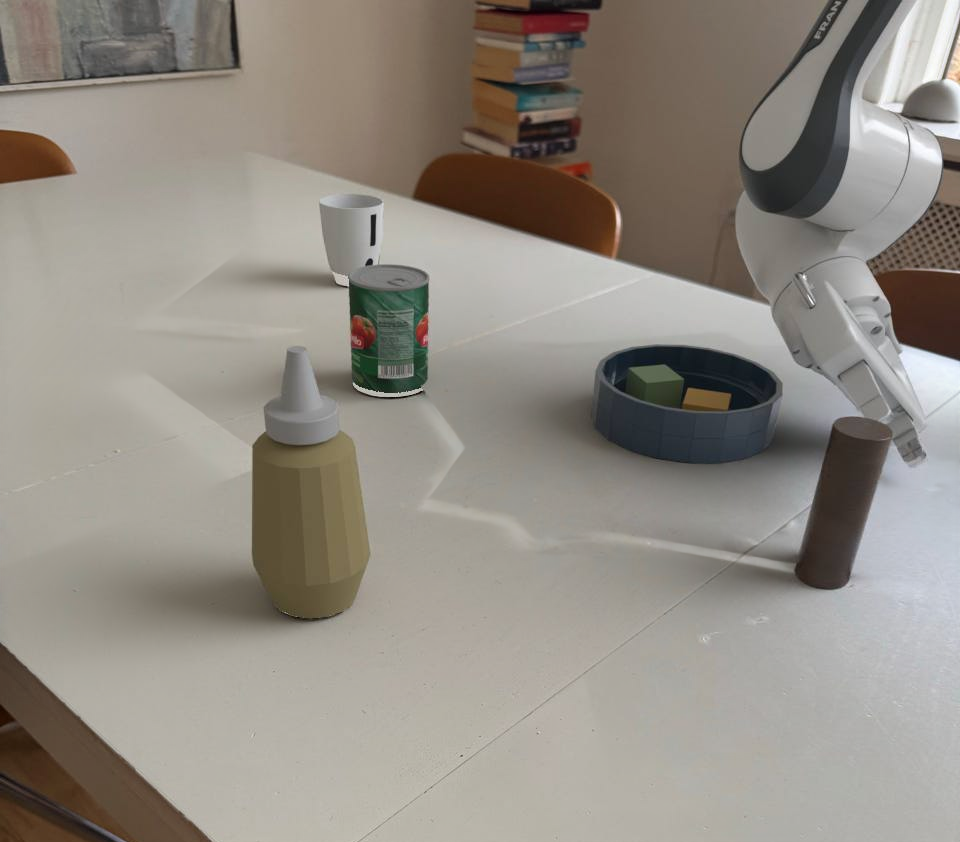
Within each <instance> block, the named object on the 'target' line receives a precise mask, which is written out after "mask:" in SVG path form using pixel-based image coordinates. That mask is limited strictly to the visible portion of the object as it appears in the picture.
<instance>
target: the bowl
mask: <svg viewBox="0 0 960 842" xmlns="http://www.w3.org/2000/svg"><path fill="white" fill-rule="evenodd" d="M654 365H666V366H668V367H669V368H670V369H672V370H673V371H674V372H675V373H677V374H678V375H679V376H681V377H682V378H683V379H684V384H683V391H682V397H681V403H680V409H677V408H670V407H664V406H661V405H657V404H653V403H649V402H646V401H642V400H639V399H637V398H634V397H632V396H630V395H628V394H625V390H626V382H627V374H628V368H632V367H643V366H654ZM594 374H595V375H594V383H593V390H592V391H593V392H592V399H591V410H590V418H591V422H592V424H593V426H594V429H595V430H596V431H598V432H599V433H600V434H601V435H602V436H603V437H604V438H605V439H607V440H608V441H609V442H612V443H613V444H616V445H618V446H620V447H622V448H624V449H626V450H628V451H631V452H633V453H637V454H640V455H645V456H647V457H651V458H654V459H660V460H666V461H673V462H681V463H687V464H721V463H727V462H734V461H740V460H745V459H748V458H750V457H752V456H754V455H757V454H760V453H762V452H763V451H764V450H765V449H766V448H767V447H768V446H769V445H770V444H771V443H772V442H773V439H774V436H775V432H776V431H775V430H776V426H777V421H778V417H779V411H780V408H781V404H782V400H783V395H784V383H783V382H782V380H781V379H780V378H779V376H777V374H776V373H775V372H774V371H772V370H771V369H769V368H767V367H766V366H765V365H762V364H761V363H760V362H757V361H754V360H752V359H749V358H746V357H744V356H741V355H739V354H736V353H732V352H727V351H723V350H719V349H716V348H710V347H704V346H696V345H687V344H661V343H659V344H647V345H638V346H637V345H636V346H630V347H627V348H623V349H620V350H617V351H616V350H615V351H612V352H611V353H609V354H608V355H606V356H604V357H603V358H602V359H599V362H598V364H597V366H596V369H595V373H594ZM688 388H694V389H701V390H708V391H715V392H722V393H728V394H731V399H730V404H729V409H728V411H692V410H685V409H682V406H683V402H684V399H685V396H686V393H687V389H688Z"/></svg>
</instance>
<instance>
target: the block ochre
mask: <svg viewBox="0 0 960 842" xmlns="http://www.w3.org/2000/svg"><path fill="white" fill-rule="evenodd" d="M730 399H731V394H728V393H722V392H715V391H708V390H701V389H694V388H688V389H687V393H686V396H685V399H684V402H683V406H682V409H685V410H692V411H728V409H729V404H730Z"/></svg>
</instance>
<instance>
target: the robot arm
mask: <svg viewBox="0 0 960 842" xmlns="http://www.w3.org/2000/svg"><path fill="white" fill-rule="evenodd" d="M917 2H918V0H827V2H826V4H825V5H824V7H823V9H822V10H821V12H820V14H819V15H818V17H817V19H816V20H815V21H814V24H813V25H812V27H811V29H810V30H809V32H808V34H807V35H806V36H805V38H804V40H803V42H802V44H801V46H800V47H799V49H798V50H797V51H796V53H795V55H794V56H793V58H792V59H791V61H790V62H789V64H788V65H787V67H786V68H785V69H784V71H783V72H782V73H781V75H780V76H779V77H778V78H777V80H776V81H774V83H773V85H772V86H771V87H770V88H769V89H768V91H767V92H766V93H765V94H764V95H763V97H762V98H761V99H760V101H758V103H757V105H756V106H755V108H754V109H753V110H752V112H751V114H750V115H749V118H748V119H747V121H746V123H745V126H744V128H743V130H742V133H741V137H740V142H739V149H738V164H739V173H740V177H741V181H742V184H743V187H744V190H743V191H742V193H741V195H740V196H739V199H738V202H737V204H736V208H735V215H734V229H735V236H736V242H737V244H738V245H737V246H738V248H739V252H740V254H741V257H742V260H743V261H744V264H745V266H746V268H747V270H748V272H749V274H750V277H751V279H752V281H753V283H754V285H755V287H756V289H757V290H758V292H759V293H760V295H762V296H763V297H764V298H765V299H767V301H768V302H769V305H770V312H771V317H772V319H773V322H774V324H775V326H776V328H777V330H778V332H779V334H780V336H781V338H782V340H783V342H784V344H785V345H786V347H787V349H788V352H789V353H790V355H791V358H792V360H794V362H795V363H796V364H797V365H798V366H799V367H802V368H805V369H810V370H811V371H813V372H815V373H817V374H819V375H820V376H823V377H824V378H826V379H827V380H828V381H830V382H831V383H832V384H833V385H834V386H835V387H837V388H838V390H839V391H840V392H841V393H842V395H844V396H845V397H846V398H847V399H848V401H850V403H851V404H852V405H853V406H854V407H855V409H857V410H858V411H859V413H860V414H861V415H862V416H863V417H864V418H869V419H873V420H876V421H879V422H881V423H883V424H885V425H887V426H888V427H890V428H891V430H892V431H893V436H892V440H891V443H890V447H896V449H897V452H898V454H899V455H900V457H901V459H902V461H903V462H904V463H905V464H906V465H907V467H909V468H910V469H914V468H917V467H918V466H920V465H922V464H924V463H925V462H927V460H928V459H929V455H928V452H927V450H926V449H925V447H924V445H923V443H922V439H921V436H920V434H919V433H922V432H923V431H924V430H925V429H926V428H927V420H926V416H925V413H924V410H923V407H922V405H921V402H920V401H919V398H918V395H917V392H916V391H915V389H914V386H913V383H912V382H911V378H910V377H909V375H908V372H907V370H906V368H905V365H904V364H903V362H902V359H901V357H900V355H901V354H902V353H903V351H904V350H903V346H902V345H901V342H900V340H899V338H898V337H897V335H896V332H895V330H894V325H893V320H892V314H891V312H892V308H891V304H890V302H889V300H888V298H887V297H886V295H885V294H884V292H883V290H882V289H881V287H880V285H879V283H878V282H877V280H876V278H875V276H874V275H873V273H872V271H871V270H870V267H869V266H868V264H867V263H869V262H871V261H872V260H874V259H876V258H877V257H879V256H880V255H881V254H883V253H884V252H885V251H887V250H888V249H889V248H890V247H892V246H893V245H894V244H895V243H897V241H899V240H900V239H901V238H902V237H903V236H905V235H906V234H907V233H908V232H909V231H910V230H911V229H912V228H914V226H916V225H917V224H918V223H919V222H920V221H921V220H922V219H923V218H924V217H925V215H926V214H927V213H928V211H929V210H930V208H931V207H932V205H933V204H934V202H935V200H936V198H937V196H938V193H939V191H940V188H941V185H942V180H943V173H944V154H943V149H942V145H941V142H940V140H939V138H938V137H937V136H936V134H935V133H934V132H933V131H932V130H930V129H929V128H927V127H924V126H922V125H921V124H918V123H917V122H915V121H912V120H911V119H909V118H906V117H905V116H903V115H900V114H898V113H897V112H894V111H892V110H889V109H885V108H883V107H881V106H879V105H876V104H874V103H872V102H870V101H868V100H866V99H864V98H863V93H864V87H865V84H866V83H867V81H868V78H869V77H870V75H871V74H872V72H873V70H874V69H875V68H876V65H877V64H878V63H879V61H880V59H881V58H882V56H883V55H884V53H885V52H886V50H887V49H888V48H889V45H890V44H891V42H892V41H893V40H894V37H895V36H896V34H897V33H898V31H899V30H900V28H901V26H902V25H903V23H904V21H905V20H906V19H907V17H908V15H909V14H910V12H911V10H912V9H913V8H914V6H915V4H916V3H917Z"/></svg>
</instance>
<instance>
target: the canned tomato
mask: <svg viewBox="0 0 960 842" xmlns="http://www.w3.org/2000/svg"><path fill="white" fill-rule="evenodd" d="M348 279H349V287H348V301H349V303H348V304H349V305H348V306H349V325H350V326H349V331H350V335H349V336H350V360H351V366H350V367H351V381H352V380H353V382H354V383H355V384H356V385H358V386H359V387H362V388H365V389H368V390H373V391H376V392H378V391H379V392H384V393H398V392H399V393H401V392H406V391H407V392H408V391H412V390H415V389H419V388H421V387H422V386H423V385H424V384H426V383H427V381H428V375H429V374H428V373H429V372H428V371H429V307H430V303H429V300H430V294H429V293H430V291H429V290H430V289H429V288H430V285H429V283H430V282H429V281H430V275H429V274H428V272H426V271H425V270H423V269H420V268H419V267H414V266H409V265H403V264H392V263H391V264H390V263H389V264H387V263H385V264H379V265H370V266H364V267H360V268H357V269H354V270H352V271H351V272H350V273H349V274H348Z"/></svg>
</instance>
